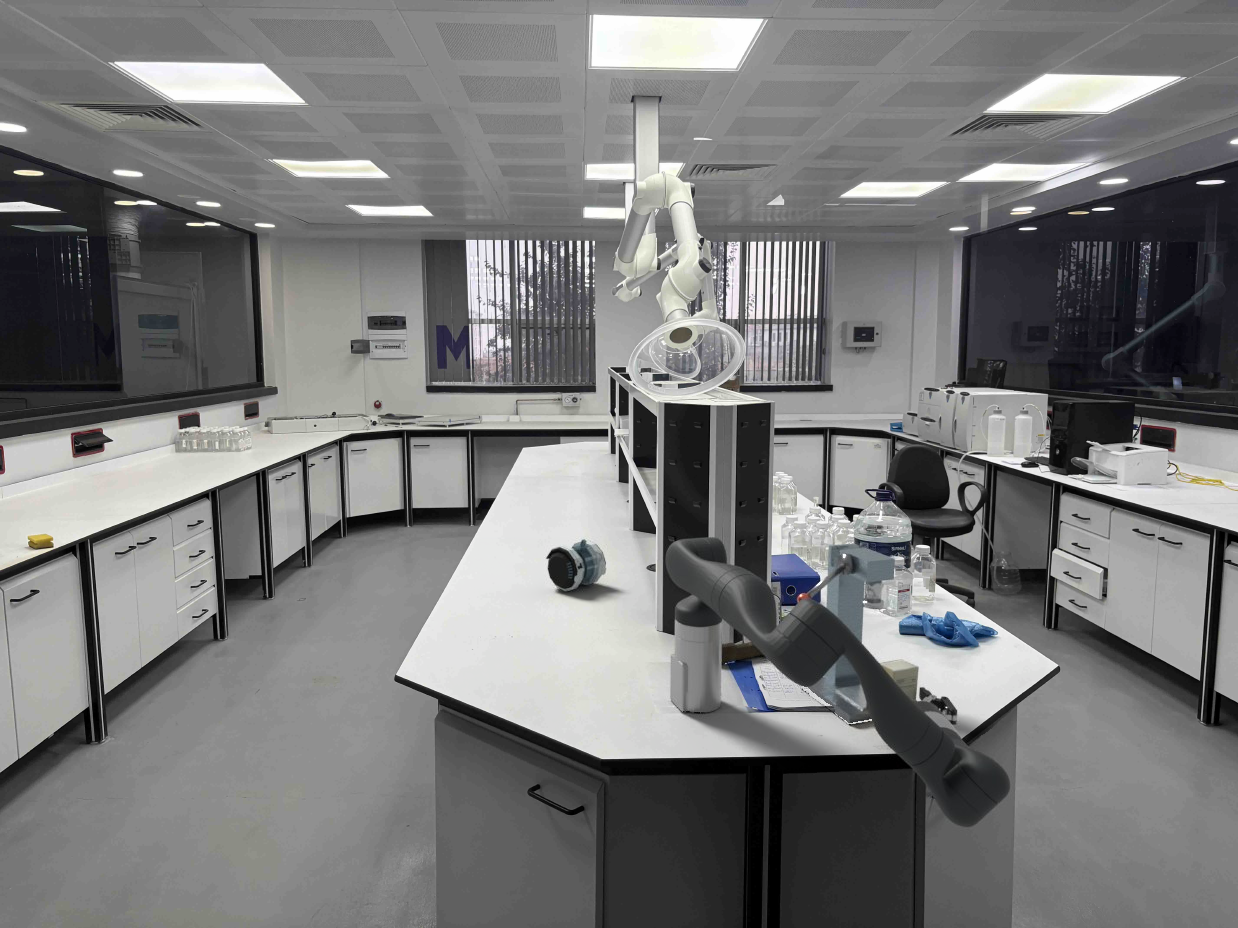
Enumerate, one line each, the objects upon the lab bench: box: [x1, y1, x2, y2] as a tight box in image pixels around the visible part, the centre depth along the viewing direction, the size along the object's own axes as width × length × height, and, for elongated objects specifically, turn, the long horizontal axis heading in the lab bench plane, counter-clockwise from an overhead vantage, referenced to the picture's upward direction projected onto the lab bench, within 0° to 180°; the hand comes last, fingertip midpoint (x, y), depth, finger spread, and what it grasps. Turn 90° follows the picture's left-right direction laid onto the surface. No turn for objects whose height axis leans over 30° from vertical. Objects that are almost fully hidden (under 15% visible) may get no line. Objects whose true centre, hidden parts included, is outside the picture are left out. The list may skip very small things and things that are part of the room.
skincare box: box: [879, 659, 920, 701], centre depth 146 cm, size 6×4×12 cm
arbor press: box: [796, 542, 918, 723], centre depth 156 cm, size 22×17×30 cm
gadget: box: [545, 538, 607, 592], centre depth 234 cm, size 14×13×15 cm
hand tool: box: [722, 641, 764, 664], centre depth 181 cm, size 19×4×5 cm, turn 115°
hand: (897, 691), depth 146 cm, fingers open, 8 cm apart
